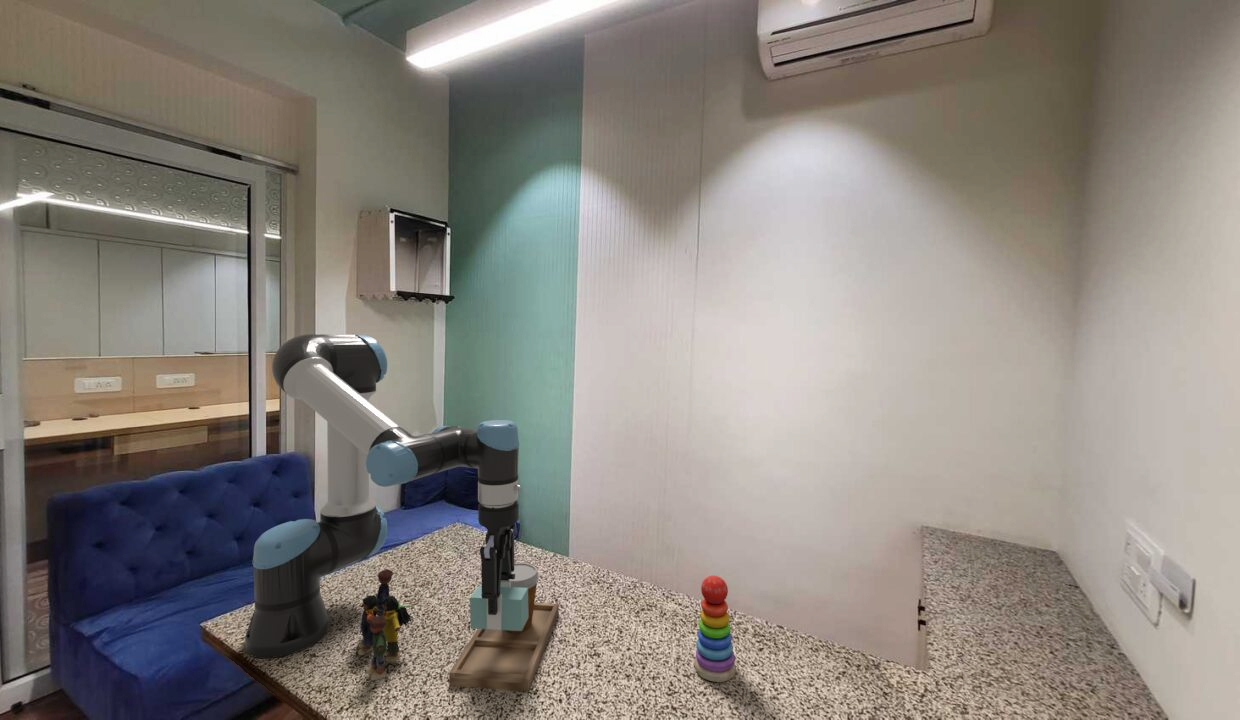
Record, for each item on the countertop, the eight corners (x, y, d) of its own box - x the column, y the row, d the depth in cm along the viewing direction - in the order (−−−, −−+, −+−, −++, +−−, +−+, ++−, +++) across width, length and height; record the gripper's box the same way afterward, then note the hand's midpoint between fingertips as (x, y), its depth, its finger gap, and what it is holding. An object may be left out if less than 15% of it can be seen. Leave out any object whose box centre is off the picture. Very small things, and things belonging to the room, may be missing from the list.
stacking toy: (706, 652, 103) (708, 563, 102) (742, 668, 98) (744, 575, 97) (686, 671, 97) (688, 577, 96) (723, 690, 92) (725, 591, 91)
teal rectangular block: (470, 628, 95) (469, 597, 94) (479, 615, 99) (478, 585, 99) (521, 631, 94) (521, 599, 93) (528, 617, 98) (527, 587, 98)
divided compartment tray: (449, 685, 92) (449, 672, 92) (496, 610, 118) (496, 600, 117) (528, 691, 91) (528, 678, 91) (558, 614, 116) (558, 603, 116)
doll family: (343, 631, 109) (342, 571, 108) (387, 616, 115) (386, 559, 114) (374, 688, 91) (374, 617, 91) (424, 667, 97) (424, 600, 97)
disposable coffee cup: (514, 643, 102) (515, 587, 102) (485, 627, 108) (485, 573, 108) (548, 623, 110) (548, 570, 109) (519, 608, 116) (519, 557, 115)
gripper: (502, 519, 86) (503, 650, 87) (530, 488, 104) (530, 598, 105) (460, 517, 87) (461, 647, 88) (495, 487, 104) (495, 596, 105)
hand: (499, 620), depth 96 cm, fingers closed on teal rectangular block, 4 cm apart
